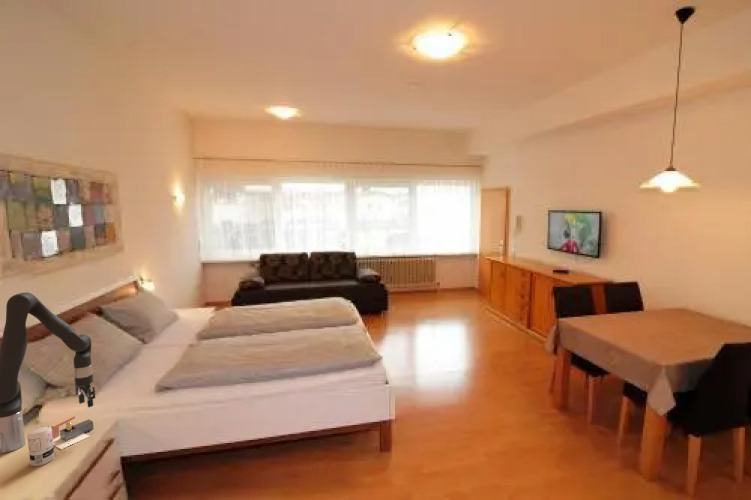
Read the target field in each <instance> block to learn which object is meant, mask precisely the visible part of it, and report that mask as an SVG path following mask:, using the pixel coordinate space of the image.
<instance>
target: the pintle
mask: <svg viewBox="0 0 751 500" xmlns="http://www.w3.org/2000/svg"><path fill="white" fill-rule="evenodd" d="M72 425H73V424H72V421H69V422H67V423H65V428H67V432H69V431H71V430H72Z"/></svg>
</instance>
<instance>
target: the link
mask: <svg viewBox="0 0 751 500" xmlns="http://www.w3.org/2000/svg"><path fill="white" fill-rule="evenodd" d="M71 425H72V430H71V431H69V432H67V428H66V427H65V428H63V429H59V433H60V438H61V439H63V440H64V441H68V440H70V439H73V438H75V437H77V436H80V434H83V433H84V434H86V433H87V432H89V431H92V430H94V421H93V420H91V419H86V420H84V421H81V422H78V423H76V424H71Z"/></svg>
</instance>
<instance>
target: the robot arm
mask: <svg viewBox="0 0 751 500" xmlns="http://www.w3.org/2000/svg"><path fill="white" fill-rule="evenodd" d="M5 307H6V309H5V311H6V312H5V314H6V315H5V324H4V329H3V333H2V338H1V344H0V454H5V453H10V452H13V451H17V450H18V449H20V448H22V447H23V446H24V445H25V444H26V437H25V428H24V427H25V426H24V419H23V417H24V416H23V410H22V409H23V407H22V404H23V399H22V387H21V383H20V381H19V372H20V369H21V367H22V364H23V361H24V359H25V355H26V352H27V347H28V342H29V341H28V339H29V337H28V331H27V326H26V324H27V319H28V316H29V315H32V316H33V317H34V318H36V319H37V320H38V321H39V322H40V323H41V324H42V325H43V326H44V328H45V329H46V330H47V331H49V332H50V333H51V334H52V335H54V336H55V337H56V338H58V339H60V340H61V341H62V342H63V343H64V344H65V346H66V347H68V348H69V349H70V350H71V351H73V352H75V354H74V356H73V357H74V358H73V376H74V386H75V395H77V397H78V403H79V405H80V404H83V403H85V400H86V403H87V408H91V407H93V406H94V399H96V391H95V387H94V386H93V387H92V386H91V384H92V383H93V382H94V373H93V372H94V371H93V366H92V356H91V352H92V339H91V336H89V335H88V334H80V335H79V334H77V333H76V332H75V328H74V327H73V326H71V325H70V324H69V323H67V322H66V321H65V320H63V319H61V318H60V317H59V316H57V315H56V314H55V313H53V312H52V311H51V310H50V309H49V308H48V307H47V306H45V304H43V302H42V301H41V300H39V298H38V297H36V296H35V295H34V294H33V293H30V292H19V293H16V294H14V295H12V296H11V297H9V298H8V300H7V302H6V306H5Z"/></svg>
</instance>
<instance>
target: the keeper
mask: <svg viewBox="0 0 751 500" xmlns="http://www.w3.org/2000/svg"><path fill="white" fill-rule="evenodd" d="M75 419H76V416H75V415H71V416H69V417H66V418H64V419H62V420H60V421H59V422H56V423H55V424H52V425H51V426H50V428H51V429H52V437H53V438H56V437H58V436H59V433H60V428H59V427H60V426H61V427H62V425H64V424H65V425H66V423H68V422H72V420H75Z"/></svg>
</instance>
